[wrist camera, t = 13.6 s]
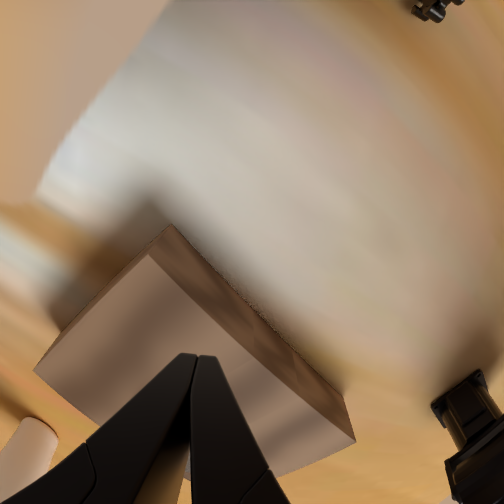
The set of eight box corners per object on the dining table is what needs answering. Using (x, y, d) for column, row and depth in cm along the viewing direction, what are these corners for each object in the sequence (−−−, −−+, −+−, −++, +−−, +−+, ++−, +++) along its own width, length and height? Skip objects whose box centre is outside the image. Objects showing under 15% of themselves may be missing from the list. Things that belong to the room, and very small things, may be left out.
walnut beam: (343, 398, 25) (356, 442, 20) (223, 456, 28) (221, 495, 23) (171, 223, 19) (147, 254, 15) (60, 332, 22) (32, 370, 18)
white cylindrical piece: (35, 439, 29) (-4, 522, 16) (10, 406, 27) (-39, 493, 13) (73, 450, 29) (38, 543, 15) (49, 416, 27) (1, 518, 13)
